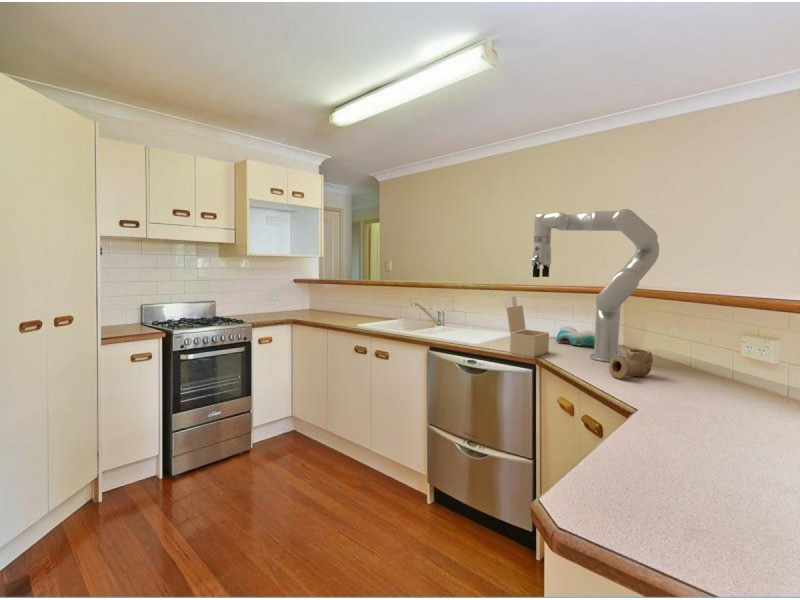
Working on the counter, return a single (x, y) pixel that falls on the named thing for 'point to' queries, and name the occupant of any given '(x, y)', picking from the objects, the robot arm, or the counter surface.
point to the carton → (529, 343)
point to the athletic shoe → (575, 337)
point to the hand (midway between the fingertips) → (540, 277)
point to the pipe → (631, 364)
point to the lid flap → (514, 314)
